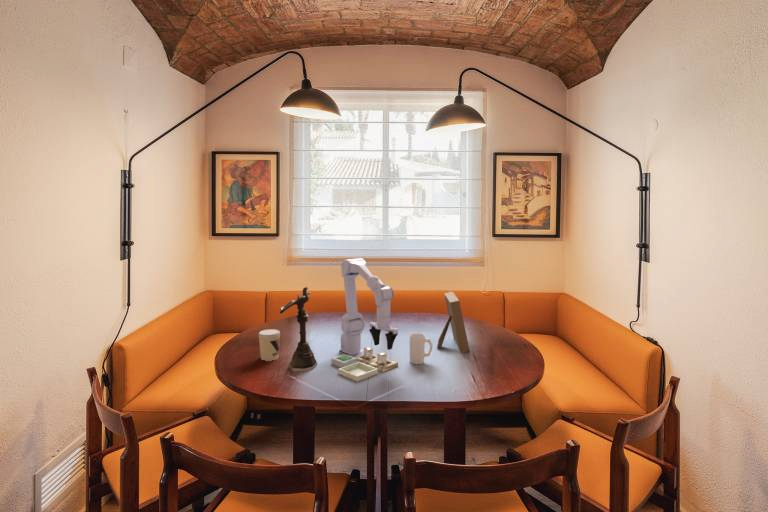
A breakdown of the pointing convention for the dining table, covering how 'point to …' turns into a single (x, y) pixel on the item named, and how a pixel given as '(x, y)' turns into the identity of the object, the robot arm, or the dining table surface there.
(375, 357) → the cream parts tray
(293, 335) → the dining table surface
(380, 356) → the billet
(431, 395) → the dining table surface
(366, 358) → the billet
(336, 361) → the button housing
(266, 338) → the coffee cup
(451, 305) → the photo frame
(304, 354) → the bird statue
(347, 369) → the tray
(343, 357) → the button
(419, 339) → the mug
